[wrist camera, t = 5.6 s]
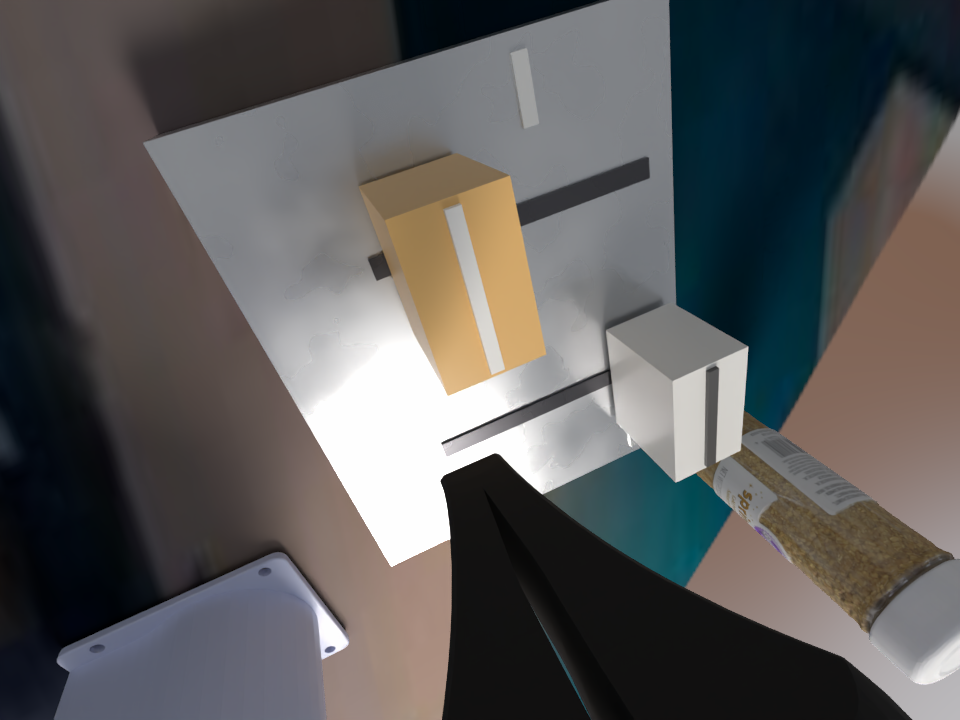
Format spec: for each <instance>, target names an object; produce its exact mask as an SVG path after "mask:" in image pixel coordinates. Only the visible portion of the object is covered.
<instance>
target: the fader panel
mask: <svg viewBox="0 0 960 720" xmlns="http://www.w3.org/2000/svg"><path fill="white" fill-rule="evenodd" d="M143 144H144V146H145V147H146V149H147V151H148V153H149V154H150V156H151V158H152V159H153V161H154V163H155V164H156V166H157V168H158V170H159V171H160V173H161V175H162V176H163V178H164V180H165V182H166V183H167V185H168V187H169V188H170V190H171V192H172V193H173V195H174V197H175V199H176V200H177V202H178V204H179V205H180V207H181V209H182V210H183V212H184V214H185V216H186V217H187V219H188V221H189V222H190V224H191V226H192V228H193V229H194V231H195V233H196V234H197V236H198V238H199V239H200V241H201V243H202V245H203V246H204V248H205V250H206V251H207V253H208V255H209V256H210V258H211V260H212V262H213V263H214V265H215V267H216V268H217V270H218V272H219V274H220V275H221V277H222V279H223V280H224V282H225V284H226V285H227V287H228V289H229V291H230V292H231V294H232V296H233V297H234V299H235V301H236V303H237V304H238V306H239V308H240V309H241V311H242V313H243V314H244V316H245V318H246V320H247V321H248V323H249V325H250V326H251V328H252V330H253V331H254V333H255V335H256V337H257V338H258V340H259V342H260V343H261V345H262V347H263V349H264V350H265V352H266V354H267V355H268V357H269V359H270V360H271V362H272V364H273V366H274V367H275V369H276V371H277V372H278V374H279V376H280V377H281V379H282V381H283V383H284V384H285V386H286V388H287V389H288V391H289V393H290V395H291V396H292V398H293V400H294V401H295V403H296V405H297V406H298V408H299V410H300V412H301V413H302V415H303V417H304V418H305V420H306V422H307V424H308V425H309V427H310V429H311V430H312V432H313V434H314V435H315V437H316V439H317V441H318V442H319V444H320V446H321V447H322V449H323V451H324V452H325V454H326V456H327V458H328V459H329V461H330V463H331V464H332V466H333V468H334V470H335V471H336V473H337V475H338V476H339V478H340V480H341V481H342V483H343V485H344V487H345V488H346V490H347V492H348V493H349V495H350V497H351V498H352V500H353V502H354V504H355V505H356V507H357V509H358V510H359V512H360V514H361V516H362V517H363V519H364V521H365V522H366V524H367V526H368V527H369V529H370V531H371V533H372V534H373V536H374V538H375V539H376V541H377V543H378V545H379V546H380V548H381V550H382V551H383V553H384V555H385V556H386V558H387V560H388V562H389V563H390V565H391V566H393V565H395V564H397V563H399V562H401V561H403V560H405V559H408V558H410V557H412V556H414V555H416V554H418V553H420V552H422V551H424V550H426V549H429V548H431V547H433V546H435V545H437V544H439V543H441V542H443V541H445V540H447V539H450V529H449V520H448V512H447V506H446V501H445V496H444V492H443V488H442V486H441V483H440V480H441V478H442V477H443V475H445V474H447V473H449V472H452V471H454V470H456V469H459V468H461V467H463V466H465V465H468V464H470V463H472V462H475V461H477V460H479V459H482V458H484V457H486V456H489V455H491V454H493V453H497V454H500V455H501V456H502V457H503V458H504V459H505V460H506V461H507V462H508V463H509V465H510V466H511V467H512V468H513V469H514V470H515V471H516V472H518V473H519V474H520V475H521V476H522V477H523V478H524V479H525V480H526V481H527V482H528V483H530V484H531V485H532V486H533V487H534V488H535V489H536V490H537V491H539V492H540V493H541V494H544V493H546V492H548V491H550V490H553V489H555V488H557V487H559V486H561V485H563V484H565V483H567V482H569V481H571V480H574V479H576V478H578V477H580V476H582V475H584V474H586V473H588V472H590V471H592V470H595V469H597V468H599V467H601V466H603V465H605V464H607V463H609V462H611V461H613V460H616V459H618V458H620V457H622V456H624V455H626V454H628V453H630V452H632V451H634V450H637V449H639V448H641V447H640V446H639V445H638V444H637V443H636V442H635V441H634V440H633V439H632V438H631V437H630V436H629V435H628V434H627V433H626V432H625V431H624V430H623V429H622V428H621V427H620V426H619V425H618V424H617V421H616V412H615V404H614V395H613V387H612V378H611V370H610V361H609V353H608V344H607V336H606V330H607V329H610V328H612V327H614V326H617V325H619V324H621V323H624V322H626V321H628V320H631V319H633V318H635V317H638V316H640V315H642V314H645V313H647V312H649V311H652V310H654V309H656V308H659V307H661V306H664V305H666V304H668V303H673V304H675V305H676V288H675V245H674V202H673V159H672V116H671V73H670V30H669V0H600V1H597V2H593V3H590V4H587V5H583V6H580V7H577V8H574V9H570V10H567V11H564V12H560V13H557V14H554V15H551V16H547V17H544V18H541V19H537V20H534V21H531V22H528V23H524V24H521V25H518V26H514V27H511V28H508V29H505V30H501V31H498V32H495V33H491V34H488V35H485V36H482V37H478V38H475V39H472V40H468V41H465V42H462V43H459V44H455V45H452V46H449V47H445V48H442V49H439V50H436V51H432V52H429V53H426V54H422V55H419V56H416V57H413V58H409V59H406V60H403V61H399V62H396V63H393V64H390V65H386V66H383V67H380V68H376V69H373V70H370V71H367V72H363V73H360V74H357V75H353V76H350V77H347V78H344V79H340V80H337V81H334V82H330V83H327V84H324V85H321V86H317V87H314V88H311V89H307V90H304V91H301V92H298V93H294V94H291V95H288V96H284V97H281V98H278V99H274V100H271V101H268V102H265V103H261V104H258V105H255V106H251V107H248V108H245V109H242V110H238V111H235V112H232V113H228V114H225V115H222V116H219V117H215V118H212V119H209V120H205V121H202V122H199V123H196V124H192V125H189V126H186V127H182V128H179V129H176V130H173V131H169V132H166V133H163V134H159V135H157V136H155V137H153V138H151V139H149V140H147V141H145V142H143ZM455 153H458V154H460V155H463V156H465V157H468V158H470V159H472V160H475V161H477V162H479V163H482V164H484V165H487V166H489V167H491V168H494V169H496V170H498V171H501V172H503V173H506V174H508V175H510V177H511V182H512V187H513V192H514V197H515V202H516V207H517V212H518V217H519V222H520V226H521V231H522V236H523V241H524V246H525V251H526V256H527V261H528V266H529V271H530V276H531V281H532V286H533V291H534V295H535V300H536V305H537V310H538V315H539V320H540V325H541V330H542V335H543V340H544V345H545V350H546V355H544V356H542V357H539V358H537V359H535V360H532V361H530V362H528V363H525V364H523V365H521V366H518V367H516V368H514V369H511V370H509V371H507V372H504V373H502V374H499V375H497V376H495V377H492V378H490V379H488V380H485V381H483V382H481V383H478V384H476V385H474V386H471V387H469V388H467V389H464V390H462V391H460V392H457V393H455V394H453V395H450V396H447V394H446V392H445V390H444V389H443V387H442V385H441V383H440V381H439V379H438V378H437V376H436V374H435V372H434V370H433V368H432V366H431V365H430V363H429V361H428V359H427V357H426V355H425V354H424V352H423V350H422V348H421V346H420V344H419V343H418V341H417V339H416V337H415V335H414V333H413V330H412V328H411V325H410V322H409V320H408V317H407V314H406V312H405V309H404V306H403V304H402V301H401V298H400V296H399V293H398V290H397V288H396V285H395V282H394V280H393V277H392V274H391V272H390V269H389V266H388V264H387V261H386V258H385V256H384V253H383V250H382V248H381V245H380V242H379V240H378V237H377V234H376V232H375V229H374V226H373V224H372V221H371V218H370V216H369V213H368V210H367V208H366V205H365V202H364V200H363V197H362V194H361V192H360V189H359V186H362V185H364V184H367V183H370V182H373V181H376V180H379V179H382V178H385V177H388V176H391V175H394V174H397V173H400V172H402V171H405V170H408V169H411V168H414V167H417V166H420V165H423V164H426V163H429V162H432V161H435V160H438V159H440V158H443V157H446V156H449V155H452V154H455Z"/></svg>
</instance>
